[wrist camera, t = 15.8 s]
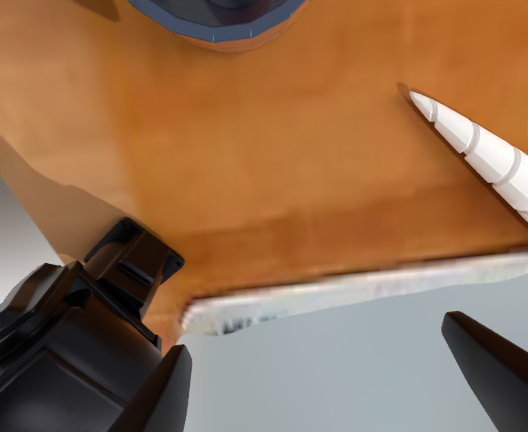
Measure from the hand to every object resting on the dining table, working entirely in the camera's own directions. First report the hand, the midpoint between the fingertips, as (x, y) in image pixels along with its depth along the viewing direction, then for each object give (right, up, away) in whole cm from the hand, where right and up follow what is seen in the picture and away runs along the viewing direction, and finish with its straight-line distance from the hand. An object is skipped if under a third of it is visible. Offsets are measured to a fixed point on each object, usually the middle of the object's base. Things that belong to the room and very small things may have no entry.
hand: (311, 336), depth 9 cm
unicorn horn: (+19, +7, +12) cm, 23 cm away
